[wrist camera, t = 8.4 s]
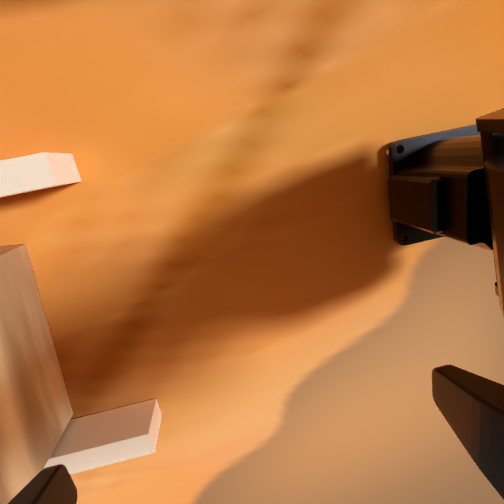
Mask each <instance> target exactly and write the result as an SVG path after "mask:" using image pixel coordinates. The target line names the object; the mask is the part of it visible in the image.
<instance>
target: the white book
mask: <svg viewBox="0 0 504 504" xmlns="http://www.w3.org/2000/svg"><path fill="white" fill-rule="evenodd" d="M76 182H81V178H80V175H79V172H78V170H77V167H76V164H75V161H74V158H73V155H72V154H68V153H49V152H43V153H38V154H33V155H27V156H22V157H17V158H12V159H7V160H2V161H0V198H2V197H7V196H12V195H17V194H22V193H27V192H32V191H37V190H42V189H47V188H52V187H57V186H61V185H66V184H71V183H76ZM161 419H162V414H161V411H160V408H159V405H158V402H157V399H153V400H149V401H145V402H141V403H136V404H132V405H128V406H124V407H120V408H116V409H112V410H108V411H104V412H100V413H96V414H92V415H88V416H84V417H80V418H76V419H72V420H70V421H69V423H68V425H67V426H66V428H65V430H64V432H63V434H62V436H61V437H60V439H59V441H58V443H57V445H56V447H55V448H54V450H53V452H52V454H51V456H50V458H49V459H48V461H47V463H46V465H45V467H44V468H47V467H50V466H54V465H58V464H63V465H64V466H66V468H67V470H68V472H69V474H70V475H71V474H74V473H78V472H82V471H86V470H90V469H94V468H98V467H102V466H106V465H109V464H113V463H117V462H121V461H125V460H129V459H133V458H137V457H141V456H144V455H148V454H152V453H155V450H156V445H157V440H158V435H159V430H160V424H161Z"/></svg>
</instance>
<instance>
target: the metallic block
mask: <svg viewBox="0 0 504 504" xmlns="http://www.w3.org/2000/svg"><path fill="white" fill-rule="evenodd" d="M72 415H73V411H72V408H71V404H70V401H69V397H68V393H67V390H66V386H65V383H64V379H63V376H62V372H61V368H60V365H59V361H58V358H57V354H56V350H55V347H54V343H53V340H52V336H51V332H50V329H49V325H48V322H47V318H46V314H45V311H44V307H43V304H42V300H41V296H40V293H39V289H38V286H37V282H36V278H35V275H34V271H33V268H32V264H31V260H30V257H29V253H28V250H27V246H26V244H19V245H8V246H0V504H8V503H9V502H10V501H11V500H12V499H13V498H14V497H15V496H16V495H17V494H18V493H19V492H20V491H21V490H22V489H23V488H24V487H25V486H26V485H27V484H28V483H29V482H30V481H31V480H32V479H33V478H34V477H35V476H36V475H37V474H38V473H39V472H40V471H41V470H43V469H44V467H45V465H46V463H47V461H48V459H49V458H50V456H51V454H52V452H53V450H54V448H55V447H56V445H57V443H58V441H59V439H60V437H61V436H62V434H63V432H64V430H65V428H66V426H67V425H68V423H69V421H70V419H71V417H72Z"/></svg>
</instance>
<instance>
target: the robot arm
mask: <svg viewBox="0 0 504 504" xmlns="http://www.w3.org/2000/svg"><path fill="white" fill-rule="evenodd" d="M398 145H399V146H400V152H399V153H397V152H396V148H397V146H398ZM389 167H390V178H389V179H388V187H389V202H390V217H391V219H393V231H394V240H395V242H396V243H398V244H400V245H409V244H413V243H418V242H422V241H427V240H431V239H435V238H440V237H444V236H445V237H448V238H451V239H454V240H457V241H460V242H463V243H466V244H469V245H474V246H477V247H481V248H484V249H487V250H491V251H493V252H494V261H495V269H496V279H497V282H496V283H495V291H496V294H497V295H498V296H499V303H500V307H501V310H502V313H503V316H504V108H503V109H501V110H498V111H495V112H493V113H490V114H487V115H484V116H482V117H479V118H476V124H475V125H471V126H466V127H461V128H456V129H451V130H446V131H441V132H436V133H432V134H427V135H422V136H417V137H412V138H407V139H402V140H398V141H394V142H393V143H392V144H390V146H389ZM404 234H405V238H404V239H403V240H401V237H402V235H404ZM432 392H433V398H434V401H435V403H436V405H437V407H438V408H439V410H440V411H441V413H442V414H443V416H444V417H445V419H446V420H447V422H448V423H449V425H450V426H451V428H452V429H453V430H454V432H455V434H456V435H457V437H458V438H459V440H460V441H461V443H462V444H463V446H464V447H465V448H466V450H467V452H468V453H469V455H470V456H471V457H472V459H473V460H474V462H475V463H476V465H477V466H478V467H479V469H480V470H481V471H482V473H483V474H484V475H485V477H486V478H487V479H488V480H489V482H490V483H491V484H492V486H493V487H494V488H495V489H496V491H497V492H498V493H499V494H500V496H501V497H502V498H503V499H504V385H502V384H499V383H496V382H494V381H491V380H489V379H486V378H484V377H481V376H479V375H476V374H473V373H470V372H468V371H466V370H463V369H460V368H458V367H455V366H452V365H444V366H440V367H436V368H434V369H433V371H432ZM76 503H77V489H76V486H75V484H74V482H73V480H72V478H71V476H70V474H69V472H68V470H67V468H66V466H64V465H63V464H58V465H54V466H50V467H47V468H44V469H43V470H41V471H40V472H39V473H38V474H37V475H36V476H35V477H34V478H33V479H32V480H31V481H30V482H29V483H28V484H27V485H26V486H25V487H24V488H23V489H22V490H21V491H20V492H19V493H18V494H17V495H16V496H15V497H14V498H13V499H12V500H11V501H10V502H9V503H8V504H76Z"/></svg>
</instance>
